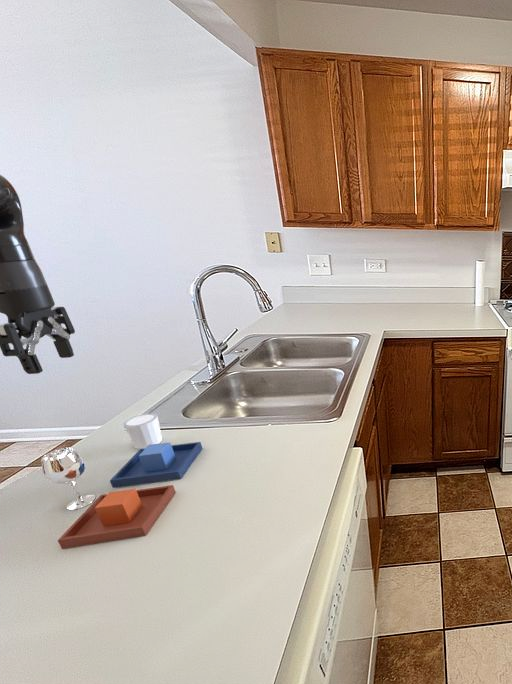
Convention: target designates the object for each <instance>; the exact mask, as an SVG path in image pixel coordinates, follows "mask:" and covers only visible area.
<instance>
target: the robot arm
mask: <svg viewBox="0 0 512 684" xmlns="http://www.w3.org/2000/svg"><path fill="white" fill-rule="evenodd" d="M21 203H22V202H21V200H20V196H19V195H18V192H17V191H16V189H15V187H14V186H13V184H12V183H11V182H10V181H9V180H8V179H7V178H6V177H5V176H4V175H2V174H0V314H3V315H5V316H6V317H7V322H6V323H0V351H1V353H2V355H3V356H4V357H16V358H18V360H19V362H20V364H21V367H22V369H23V371H24V372H25V373H26V374H28V375H37V374H41V373H43V371H44V369H43V367H42V365H41V363H40V361H39V358H38V356H37V354H36V353H35V349H36V346H37V344H39V343H40V339H42V338H44V337H45V336H48V337H49V338H50V339H52V340H53V344H54V347H55V349H56V352H57V354H58V357H59V358H61V359H68V358H73V357H74V356H75V353H74V350H73V347H72V344H71V342H70V338H71V335H74V334H75V332H76V330H75V327H74V326H73V323H72V321H71V319H70V317H69V314H68V312H67V310H66V307H64V306H55V305H56V303H55V300H54V298H53V296H52V293H51V291H50V287H49V286H48V283H47V280H46V278H45V275H44V273H43V271H42V269H41V267H40V265H39V264H38V262H37V260H36V258H35V256H34V253H33V250H32V248H31V245H30V244H29V241H28V239H27V237H26V235H25V223H24V215H23V209H22V204H21ZM63 325H64V326H65V327H63ZM22 337H23V338H22ZM10 344H11V345H12V347H13V348H12V349H11V346H10ZM24 345H25V348H24Z"/></svg>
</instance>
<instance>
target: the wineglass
mask: <svg viewBox="0 0 512 684" xmlns="http://www.w3.org/2000/svg"><path fill="white" fill-rule="evenodd" d="M40 461H41V469H42V473H43V476H44V478H45V479H46V480H47V481H48V482H50V483H51V484H55V485H64V484H68V485H69V488H70V489H71V490H72V491H73V492H74V494H75V496H76V498H75V499H73V500H71V501H70V502H69V503H68V504H67V505H66V509H67V511H74V510H79V509H82V508H85V507H87V506H90V505H91V504H93V503H94V502H95V499H97V498H96V497H97V496H96V495H95V494H85V495H82V496H81V495H80V493H79V490H78V487H77V482H76V480H77V479H80V478H81V477H82V476H83V475H84V473H85V472H86V469H87V466H86V461H85V460H84V459H83V457H82V455H81V454H80V453H79V452H78V451H77V450H76V449H75V448H74V447H71V446H70V447H62V448H58V449H55V450H52V451H50V452H48V453H46V454H44V455H43V456H42V457H41V459H40Z"/></svg>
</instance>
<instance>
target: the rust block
mask: <svg viewBox="0 0 512 684" xmlns="http://www.w3.org/2000/svg"><path fill="white" fill-rule="evenodd" d="M136 490H137V489H136V488H130V489H123V490H114V491H109V492H108V493H106V494H107V495H106V496H105V497H104V499H103V500H102V501H101V502H100V503H99V504H98V505H97V506H96V507H95V510H96V512H97V514H98V516H99V518H100V520H101V522H102V525H103V526H109V525H115V524H122V523H128V522H131V521H132V519H133V518H134V517H135V516H136V514H137V513H138V512H139V510H140V509H141V508H142V507H143V505H142V503H141V501H140V498H139V496H138V493H137V491H136Z"/></svg>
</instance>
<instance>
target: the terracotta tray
mask: <svg viewBox="0 0 512 684" xmlns="http://www.w3.org/2000/svg"><path fill="white" fill-rule="evenodd" d="M136 491H137V493H138V496H139V498H140V501H141V503H142V505H143V507H142V508H141V509H140V510H139V512H138V513H137V514H136V516H135V517H134V518H133V519H132V521H131V522H128V523H122V524H115V525H109V526H103V525H102V522H101V520H100V518H99V516H98V514H97V512H96V510H95V507H96V506H97V505H98V504H99V503H100V502H101V501H102V500H103V499H104V497H105V496H106V495H107V494H108V493H104V494H100V495H99V496H98V497H97V498H95V499H96V500H94V501H93V502H92V503H91V504H90V505H89V507H88V508H87V509H86V510H85V511H84V512H83V513H82V514H80V515H79V517H78V518H77V519H76V520H75V521H74V523H73V524H71V526H69V528H68V529H66V531H65V532H64V533H63V534H62V535H61V536H60V537H59V538H58V539H57V543H58V544H59V546H60V548H61V549H62V550H64V549H67V548H68V549H69V548H75V547H81V546H88V545H95V544H100V543H101V544H102V543H108V542H112V541H113V542H114V541H121V540H125V539H133V538H139V537H145V536H147V535H148V533H149V531H150V530H151V529H152V527H153V526H154V525H155V523H156V521H157V520H158V519H159V517H160V516H161V514H162V513H163V512H164V510H165V508H166V507H167V506H168V504H169V503H170V502H171V500H172V499H173V497H174V496H175V494H176V493H177V491H176V489H175V486H174V484H171V485H163V486H157V487H156V486H155V487H148V488H141V489H136Z"/></svg>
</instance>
